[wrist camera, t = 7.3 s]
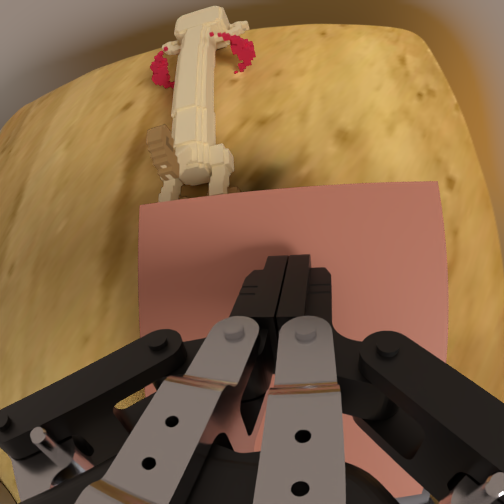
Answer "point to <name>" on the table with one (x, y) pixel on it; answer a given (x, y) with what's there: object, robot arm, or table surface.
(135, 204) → the table surface
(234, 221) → the flat pink square board
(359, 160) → the table surface
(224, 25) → the cream blocky figure
